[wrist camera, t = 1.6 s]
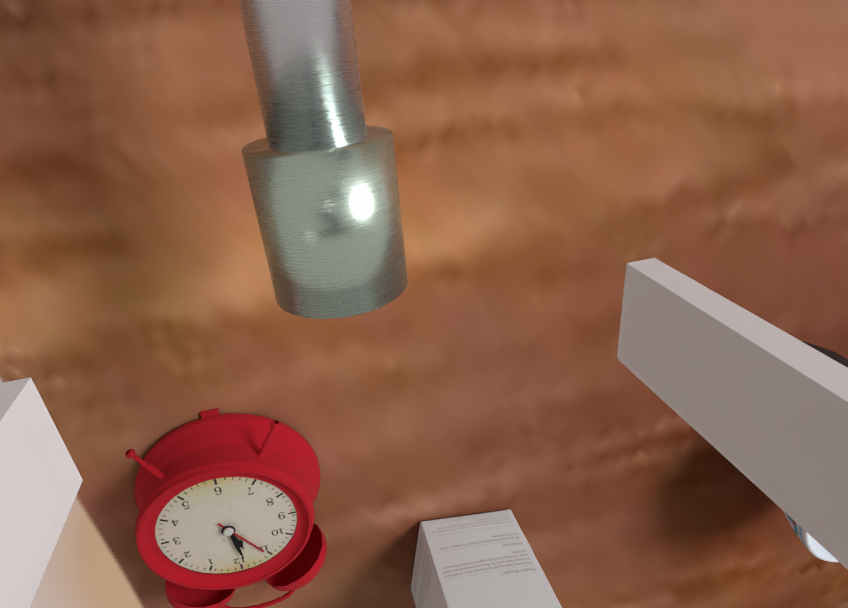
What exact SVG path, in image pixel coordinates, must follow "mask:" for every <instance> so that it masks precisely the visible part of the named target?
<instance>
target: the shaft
mask: <svg viewBox="0 0 848 608" xmlns="http://www.w3.org/2000/svg"><path fill="white" fill-rule="evenodd" d="M238 1H239V6H240V11H241V16H242V20H243V25H244V30H245V35H246V40H247V44H248V49H249V54H250V59H251V64H252V68H253V73H254V78H255V83H256V88H257V92H258V97H259V102H260V107H261V112H262V117H263V121H264V126H265V131H266V136H267V137H266V138H263V139H259V140H257V141H254V142H252V143H249V144H248V145H246V146H244V147H243V148H242V155H243V159H244V164H245V168H246V172H247V176H248V181H249V185H250V189H251V194H252V198H253V202H254V207H255V211H256V215H257V220H258V224H259V228H260V232H261V237H262V241H263V245H264V250H265V254H266V258H267V263H268V267H269V271H270V275H271V280H272V284H273V288H274V293H275V297H276V301H277V303H278V305H279V306H280V307H281V308H282V309H283V310H285V311H286V312H289V313H291V314H294V315H297V316H301V317H306V318H317V319H330V318H342V317H348V316H354V315H358V314H362V313H366V312H369V311H372V310H375V309H377V308H380V307H382V306H384V305H386V304H388V303H390V302H391V301H393V300H394V299H396V298H397V297H398V296H399V295H400V294H402V292H403V291H404V290H405V288H406V286H407V283H408V279H407V269H406V259H405V249H404V239H403V229H402V219H401V209H400V199H399V189H398V179H397V169H396V159H395V149H394V139H393V132H392V131H390V130H389V129H386V128H381V127H374V126H366V122H365V114H364V106H363V97H362V89H361V81H360V73H359V65H358V57H357V48H356V40H355V32H354V24H353V16H352V8H351V0H238Z"/></svg>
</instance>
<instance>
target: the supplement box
mask: <svg viewBox="0 0 848 608" xmlns="http://www.w3.org/2000/svg"><path fill="white" fill-rule="evenodd" d="M411 591H412V595H413V599H414V602H415V606H416V608H562V607H561V605H560V603H559V601H558V599H557V597H556V596H555V594H554V591H553V590H552V588H551V586H550V584H549V582H548V580H547V578H546V576H545V574H544V572H543V570H542V568H541V566H540V565H539V563H538V561H537V559H536V557H535V555H534V553H533V551H532V549H531V547H530V545H529V543H528V541H527V540H526V538H525V536H524V534H523V532H522V531H521V529H520V527H519V525H518V523H517V521H516V519H515V517H514V515H513V513H512V512H511V510H509V509H508V510H502V511H495V512H488V513H481V514H474V515H466V516H459V517H452V518H444V519H436V520H430V521H422V522H420V526H419V533H418V540H417V546H416V554H415V560H414V568H413V576H412V582H411Z"/></svg>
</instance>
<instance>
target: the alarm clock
mask: <svg viewBox="0 0 848 608" xmlns="http://www.w3.org/2000/svg"><path fill="white" fill-rule="evenodd" d="M200 414H201V417H202V419H198V420H195V421H192V422H190V423H187V424H185V425H183V426H181V427H179V428H177V429H175V430H173V431H172V432H170V433H169V434H167V435H166V436H164V437H163V438H162V439H161V440H160V441H158V442H157V443H156V444H155V445H154V446H153V447H152V448H151V449H150V451H149V452H148V453H147V454H146V456H145V458H144V459H141V458H140V457H138V456H137V455H136V454H135V451H134V450H133V449H129V450H128V451H127V452H126V453H125V455H126V457H127V458H129V459H130V458H133V459H134V460H136V461H137V462H138V463H139V464H141V465H140V467H139V470H138V473H137V477H136V481H135V500H136V503H137V507H138V509H139V514H138V517H137V521H136V526H135V536H136V542H137V546H138V550H139V553H140V555H141V558H142V559H143V560H144V562H145V563H146V565H147V566H148V567H149V568H150V569H151V570H152V571H154V572H155V573H156V574H157V575H159V576H161V577H162V578H164V579H166V584H165V588H166V595H167V598H168V601H169V603H170V604H171V605H172V606H173V607H174V608H264V607H267V606H270V605H273V604H276V603H278V602H280V601H282V600H284V599H286V598H288V597H289V596H290V595H292V594H293V593H294V591H295V590H296V589H298V588H301V587H303V586H304V585H306V584H307V583H309V582H310V581H311V580H312V579H313V578H314V577H315V576H316V575H317V574H318V572H319V571H320V569H321V567H322V566H323V564H324V561H325V558H326V550H327V547H326V539H325V537H324V535H323V533H322V531H321V529H320V528H319V527H318V525H316V524H314V507H313V503H314V501H315V499H316V496H317V494H318V490H319V486H320V469H319V463H318V459H317V456H316V454H315V452H314V450H313V449H312V447H311V445H310V444H309V443H308V442H307V441H306V439H305V438H304V437H302V436H301V435H300V434H299V433H298V432H296V431H295V430H294V429H292V428H291V427H289V426H287V425H285V424H283V423H281V422H278V421H277V420H273V419H270V418H266V417H263V416H257V415H250V414H222V415H219V412H218V408H216V409H211V410H206V411H201V412H200ZM264 579H266V582H267V583H268V584H269V585H271V586H272V587H273V588H275V589H277V590H279V591H289V592H288V593H286V594H285V595H283V596H281V597H279V598H277V599H274V600H272V601H269V602H266V603H262V604H259V605H254V606H248V607H229V606H226V605H225V604H226V603H227V602H228V601H229V600H230V599H231V597H232V596H233V594H234V592H235V590H236V588H238V587H243V586H247V585H250V584H253V583H256V582H259V581H262V580H264Z"/></svg>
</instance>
